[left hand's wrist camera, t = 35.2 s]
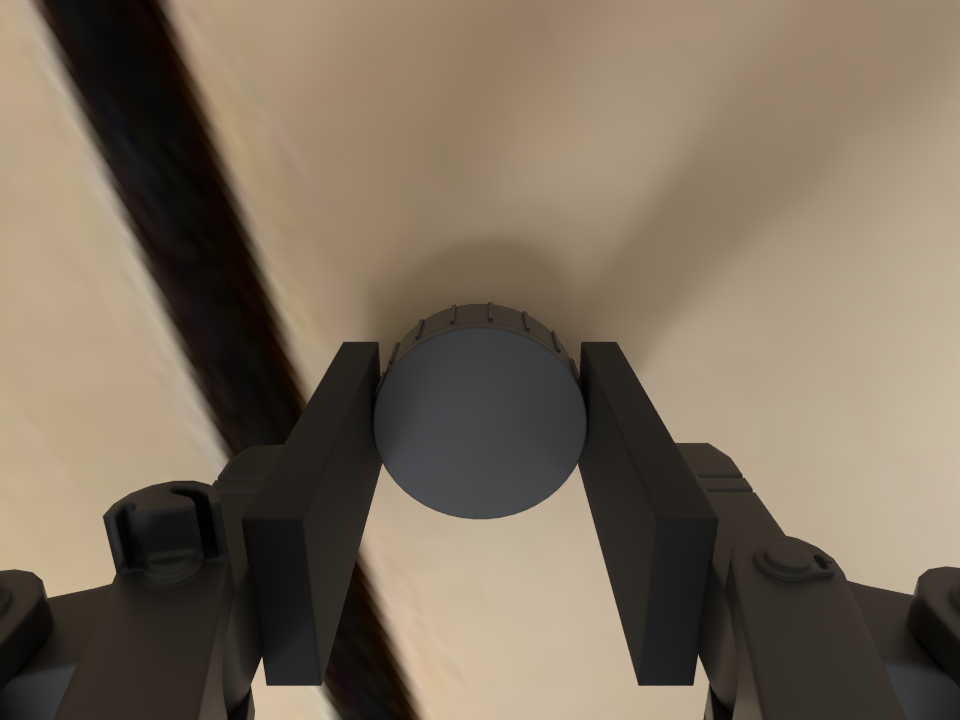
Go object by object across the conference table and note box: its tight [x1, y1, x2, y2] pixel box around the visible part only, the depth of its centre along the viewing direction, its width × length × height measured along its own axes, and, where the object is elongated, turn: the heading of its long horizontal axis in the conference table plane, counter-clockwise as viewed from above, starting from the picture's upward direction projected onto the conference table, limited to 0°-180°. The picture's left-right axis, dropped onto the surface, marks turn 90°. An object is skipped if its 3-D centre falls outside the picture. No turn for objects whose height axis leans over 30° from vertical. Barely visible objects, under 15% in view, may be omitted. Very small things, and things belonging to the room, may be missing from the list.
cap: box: [373, 302, 587, 519], centre depth 14 cm, size 4×4×2 cm
